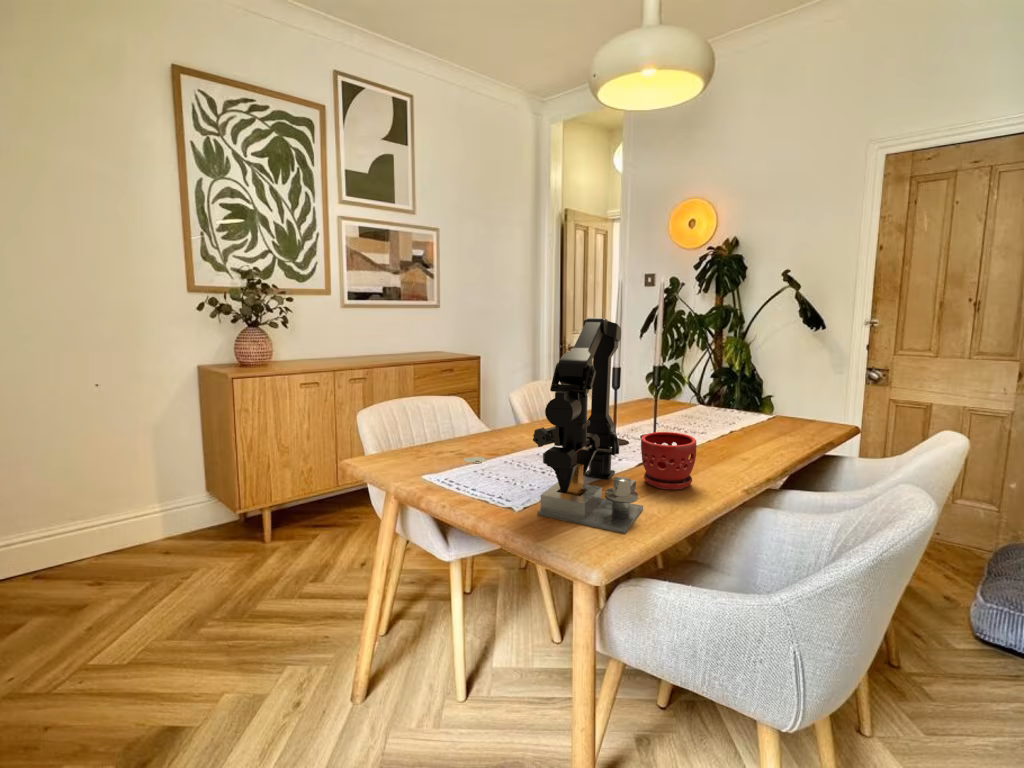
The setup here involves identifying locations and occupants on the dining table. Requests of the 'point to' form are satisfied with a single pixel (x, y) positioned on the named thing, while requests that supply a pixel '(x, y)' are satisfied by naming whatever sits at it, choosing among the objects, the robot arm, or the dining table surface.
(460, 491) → the dining table surface
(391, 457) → the dining table surface
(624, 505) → the grey metal frame fixture
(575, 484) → the rectangular wooden peg
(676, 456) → the plant pot
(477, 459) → the mounting bracket
